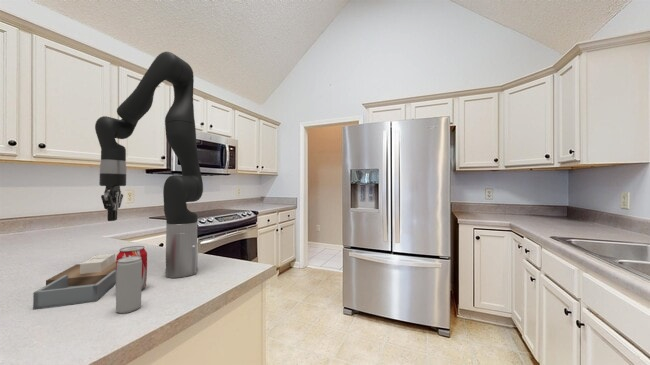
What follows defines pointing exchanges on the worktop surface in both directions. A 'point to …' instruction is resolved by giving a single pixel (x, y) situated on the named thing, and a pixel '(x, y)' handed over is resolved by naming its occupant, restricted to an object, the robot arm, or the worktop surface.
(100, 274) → the walnut board
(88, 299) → the grey tray
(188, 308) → the worktop surface
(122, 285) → the grey cylinder
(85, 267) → the front tile
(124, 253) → the soda can
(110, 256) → the rear tile
